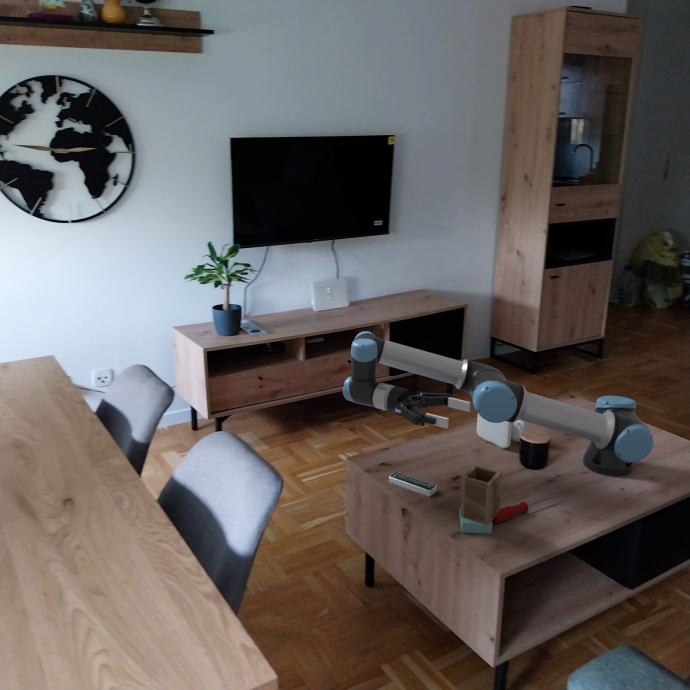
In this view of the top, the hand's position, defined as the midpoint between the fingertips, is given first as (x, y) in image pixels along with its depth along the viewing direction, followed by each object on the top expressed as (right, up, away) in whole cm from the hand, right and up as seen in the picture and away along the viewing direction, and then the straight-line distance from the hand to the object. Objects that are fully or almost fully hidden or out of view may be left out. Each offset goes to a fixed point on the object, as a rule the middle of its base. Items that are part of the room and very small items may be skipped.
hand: (459, 415), depth 194 cm
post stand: (+4, -30, 0) cm, 30 cm away
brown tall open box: (+6, -27, 0) cm, 28 cm away
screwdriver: (+20, -28, +7) cm, 35 cm away
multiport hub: (-11, -24, +20) cm, 33 cm away
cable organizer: (+23, -14, +52) cm, 58 cm away
